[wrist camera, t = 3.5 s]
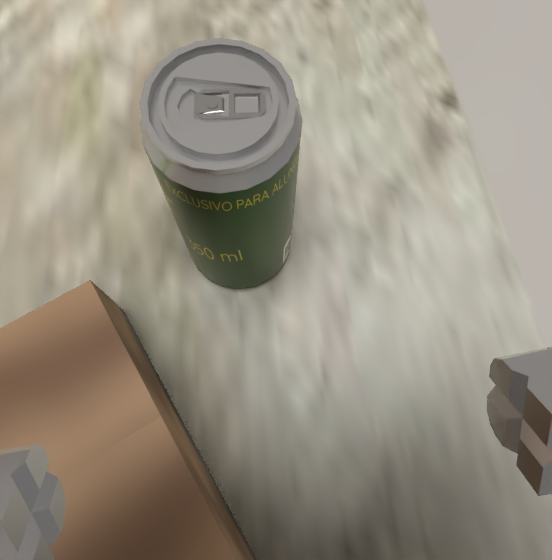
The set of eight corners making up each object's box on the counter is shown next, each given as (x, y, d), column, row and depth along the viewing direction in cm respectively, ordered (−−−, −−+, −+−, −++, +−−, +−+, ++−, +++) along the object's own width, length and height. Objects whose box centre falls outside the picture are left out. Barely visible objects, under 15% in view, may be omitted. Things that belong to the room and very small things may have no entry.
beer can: (288, 199, 28) (300, 31, 17) (292, 291, 26) (307, 175, 15) (192, 200, 28) (137, 33, 17) (189, 293, 26) (126, 179, 15)
